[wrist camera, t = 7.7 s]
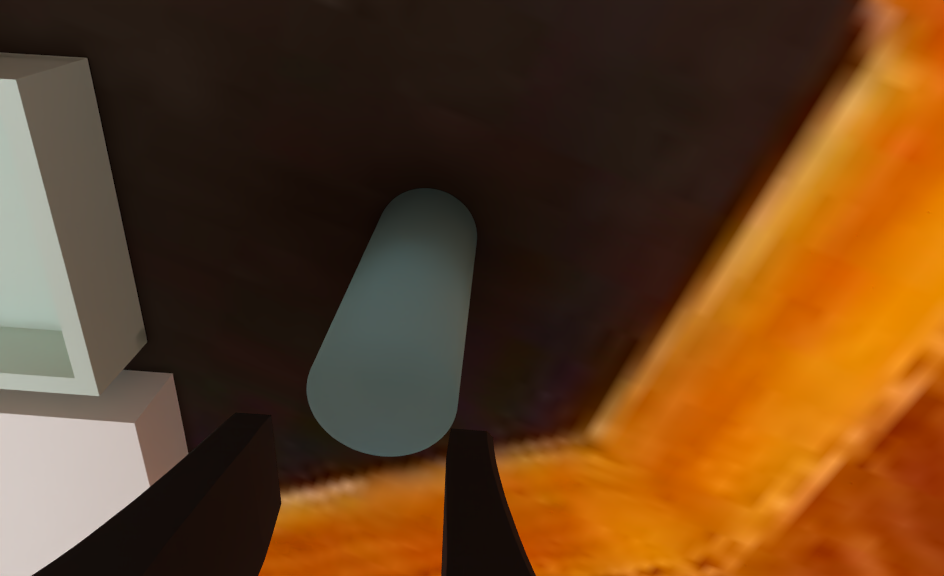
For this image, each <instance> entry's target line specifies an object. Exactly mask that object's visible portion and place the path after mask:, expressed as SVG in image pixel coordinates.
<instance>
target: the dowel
mask: <svg viewBox="0 0 944 576" xmlns="http://www.w3.org/2000/svg"><path fill="white" fill-rule="evenodd" d="M476 244H477V230H476V225H475V222H474V219H473V217H472V215H471V213H470V212H469V210H468V209H467V208H466V206H465V205H464V204H463V203H462V202H461V201H460V200H458V199H457V198H455V197H454V196H452V195H450V194H449V193H446V192H444V191H441V190H437V189H431V188H419V189H413V190H409V191H407V192H404V193H402V194H400V195H398V196H397V197H396V198H394V199H393V200H392V201H391V202H390V203H389V204H388V205H387V206H386V208H385V209H384V211H383V213H382V215H381V217H380V219H379V221H378V224H377V226H376V228H375V230H374V232H373V234H372V237H371V239H370V241H369V243H368V245H367V248H366V250H365V252H364V254H363V256H362V258H361V261H360V263H359V265H358V267H357V269H356V272H355V274H354V276H353V278H352V280H351V282H350V285H349V287H348V289H347V291H346V293H345V295H344V298H343V300H342V302H341V304H340V306H339V309H338V311H337V313H336V315H335V317H334V319H333V322H332V324H331V326H330V328H329V330H328V333H327V335H326V337H325V339H324V341H323V343H322V346H321V348H320V350H319V352H318V354H317V357H316V359H315V361H314V363H313V365H312V367H311V370H310V373H309V375H308V380H307V398H308V402H309V405H310V409H311V411H312V413H313V415H314V417H315V418H316V420H317V421H318V423H319V424H320V425H321V426H322V427H323V429H324V430H325V431H326V432H327V433H329V434H330V435H331V436H332V437H333V438H335V439H336V440H337V441H339V442H341V443H342V444H344V445H346V446H348V447H350V448H352V449H354V450H357V451H360V452H363V453H367V454H371V455H377V456H403V455H408V454H413V453H416V452H419V451H421V450H424V449H426V448H428V447H430V446H431V445H433V444H435V443H436V442H437V441H438V440H440V439H441V438H442V437H443V436H444V435H445V434H446V433H447V431H448V430H449V428H450V427H451V425H452V423H453V421H454V419H455V416H456V413H457V406H458V398H459V389H460V381H461V372H462V363H463V355H464V346H465V338H466V329H467V321H468V312H469V304H470V295H471V286H472V278H473V269H474V261H475V252H476Z"/></svg>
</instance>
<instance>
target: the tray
mask: <svg viewBox="0 0 944 576" xmlns="http://www.w3.org/2000/svg"><path fill="white" fill-rule="evenodd" d="M146 343H147V337H146V332H145V328H144V323H143V318H142V314H141V309H140V304H139V299H138V295H137V290H136V285H135V281H134V276H133V271H132V266H131V262H130V257H129V252H128V247H127V243H126V238H125V233H124V229H123V224H122V219H121V214H120V210H119V205H118V200H117V196H116V191H115V186H114V181H113V177H112V172H111V167H110V162H109V158H108V153H107V148H106V144H105V139H104V134H103V129H102V125H101V120H100V115H99V110H98V106H97V101H96V96H95V92H94V87H93V82H92V77H91V73H90V68H89V63H88V59H87V58H82V57H65V56H49V55H33V54H17V53H1V52H0V389H9V390H22V391H36V392H49V393H62V394H76V395H89V396H100V395H101V394H102V393H103V392H104V390H105V389H106V388H107V387H108V386H109V385H110V384H111V383H112V381H113V380H114V379H115V378H116V377H117V376H118V375H119V373H120V372H121V371H122V370H123V369H124V368H125V367H126V366H127V364H128V363H129V362H130V361H131V360H132V359H133V358H134V356H135V355H136V354H137V353H138V352H139V351H140V350H141V349H142V347H143V346H144V345H145V344H146Z"/></svg>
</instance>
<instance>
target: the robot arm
mask: <svg viewBox="0 0 944 576" xmlns="http://www.w3.org/2000/svg"><path fill="white" fill-rule="evenodd" d="M280 506H281V497H280V488H279V479H278V471H277V462H276V453H275V445H274V436H273V428H272V419H271V415H261V414H248V413H235V414H234V415H232V416H231V417H230V418H229V419H228V420H227V421H225V422H224V423H223V424H222V425H221V426H219V427H218V428H217V429H216V430H215V431H214V432H213V433H211V434H210V435H209V436H208V437H207V438H206V439H205V440H204V441H202V442H201V443H200V444H199V445H198V446H197V447H196V448H195V449H193V450H192V451H191V452H190V453H189V454H188V455H187V456H185V457H184V458H183V459H182V460H181V461H180V462H179V463H177V464H176V465H175V466H174V467H173V468H172V469H170V470H169V471H168V472H167V473H166V474H165V475H163V476H162V477H161V478H160V479H159V480H157V481H156V482H155V483H154V484H153V485H151V486H150V487H149V488H148V489H147V490H146V491H144V492H143V493H142V494H141V495H140V496H138V497H137V498H136V499H135V500H134V501H132V502H131V503H130V504H129V505H127V506H126V507H125V508H124V509H122V510H121V511H120V512H118V513H117V514H116V515H114V516H113V517H112V518H111V519H109V520H108V521H107V522H105V523H104V524H103V525H102V526H100V527H99V528H98V529H96V530H95V531H94V532H93V533H91V534H90V535H89V536H87V537H86V538H85V539H83V540H82V541H81V542H79V543H78V544H77V545H75V546H74V547H73V548H71V549H70V550H68V551H67V552H65V553H64V554H63V555H61V556H60V557H58V558H57V559H56V560H54V561H53V562H51V563H50V564H48V565H47V566H45V567H44V568H42V569H41V570H39V571H38V572H36V573H35V574H33V575H32V576H258V574H259V572H260V569H261V567H262V565H263V562H264V560H265V557H266V553H267V550H268V547H269V544H270V540H271V537H272V534H273V530H274V527H275V523H276V520H277V516H278V513H279V509H280ZM441 576H536V575H535V573H534V571H533V569H532V566H531V564H530V562H529V559H528V557H527V555H526V552H525V550H524V547H523V545H522V542H521V540H520V537H519V535H518V532H517V529H516V526H515V524H514V521H513V518H512V515H511V512H510V510H509V507H508V504H507V501H506V497H505V494H504V491H503V487H502V484H501V480H500V476H499V472H498V468H497V464H496V459H495V453H494V446H493V437H492V436H491V435H490V434H489V433H488V432H487V431H476V430H462V429H451V432H450V438H449V444H448V450H447V456H446V476H445V500H444V524H443V548H442V572H441Z"/></svg>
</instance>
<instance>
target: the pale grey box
mask: <svg viewBox="0 0 944 576" xmlns="http://www.w3.org/2000/svg"><path fill="white" fill-rule="evenodd" d="M187 455H188V449H187V444H186V439H185V434H184V429H183V424H182V419H181V414H180V409H179V404H178V399H177V393H176V388H175V383H174V378H173V373H159V372H145V371H132V370H122V371H121V372H120V373H119V375H118V376H117V377H116V378H115V379H114V380H113V381H112V383H111V384H110V385H109V386H108V387H107V388H106V389H105V390H104V392H103V393H102V394H101V395H100V396H89V395H76V394H62V393H49V392H36V391H22V390H9V389H0V576H32V575H33V574H35V573H36V572H38V571H39V570H41V569H42V568H44V567H45V566H47V565H48V564H50V563H51V562H53V561H54V560H56V559H57V558H58V557H60V556H61V555H63V554H64V553H65V552H67V551H68V550H70V549H71V548H73V547H74V546H75V545H77V544H78V543H79V542H81V541H82V540H83V539H85V538H86V537H87V536H89V535H90V534H91V533H93V532H94V531H95V530H96V529H98V528H99V527H100V526H102V525H103V524H104V523H105V522H107V521H108V520H109V519H111V518H112V517H113V516H114V515H116V514H117V513H118V512H120V511H121V510H122V509H124V508H125V507H126V506H127V505H129V504H130V503H131V502H132V501H134V500H135V499H136V498H137V497H138V496H140V495H141V494H142V493H143V492H144V491H146V490H147V489H148V488H149V487H150V486H151V485H153V484H154V483H155V482H156V481H157V480H159V479H160V478H161V477H162V476H163V475H165V474H166V473H167V472H168V471H169V470H170V469H172V468H173V467H174V466H175V465H176V464H177V463H179V462H180V461H181V460H182V459H183V458H184V457H185V456H187Z"/></svg>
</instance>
